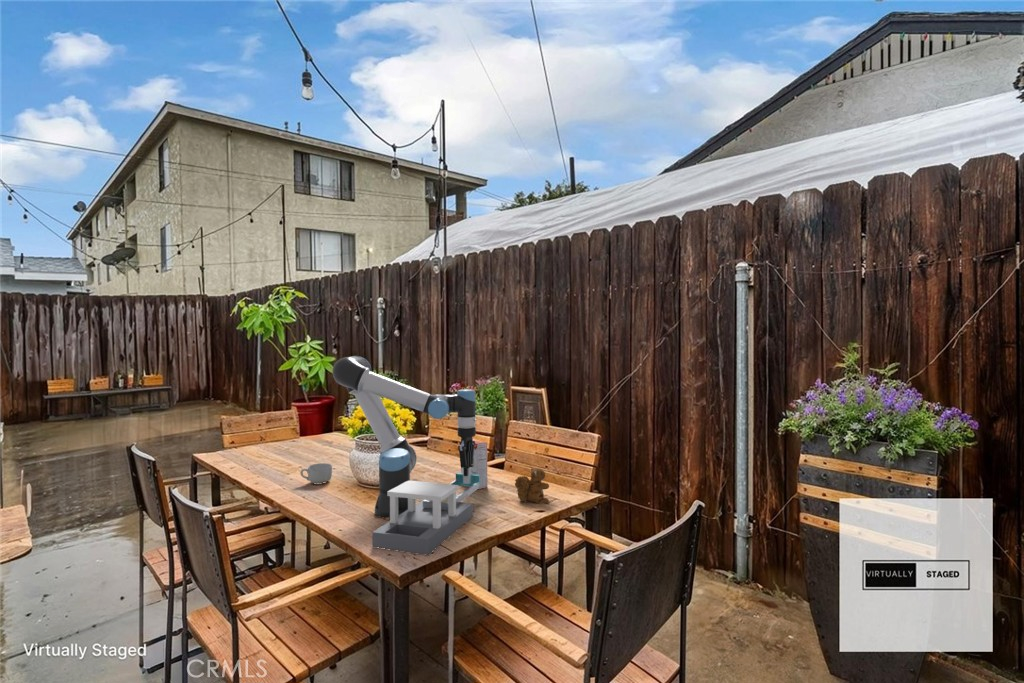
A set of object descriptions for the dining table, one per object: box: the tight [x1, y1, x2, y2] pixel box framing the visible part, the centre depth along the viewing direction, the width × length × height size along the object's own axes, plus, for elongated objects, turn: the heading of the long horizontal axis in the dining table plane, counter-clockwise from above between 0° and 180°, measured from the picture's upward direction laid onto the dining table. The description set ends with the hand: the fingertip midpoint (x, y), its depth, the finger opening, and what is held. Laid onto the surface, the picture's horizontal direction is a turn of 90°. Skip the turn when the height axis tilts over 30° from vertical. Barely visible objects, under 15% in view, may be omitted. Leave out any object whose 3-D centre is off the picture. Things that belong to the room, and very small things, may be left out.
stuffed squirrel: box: [514, 467, 550, 504], centre depth 210 cm, size 10×14×13 cm
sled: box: [423, 472, 480, 510], centre depth 198 cm, size 11×30×5 cm, turn 162°
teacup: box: [299, 462, 333, 484], centre depth 236 cm, size 14×11×8 cm
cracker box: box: [460, 437, 488, 490], centre depth 231 cm, size 14×6×21 cm, turn 37°
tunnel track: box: [371, 480, 474, 556], centre depth 177 cm, size 20×36×16 cm, turn 162°
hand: (467, 483), depth 211 cm, fingers closed
